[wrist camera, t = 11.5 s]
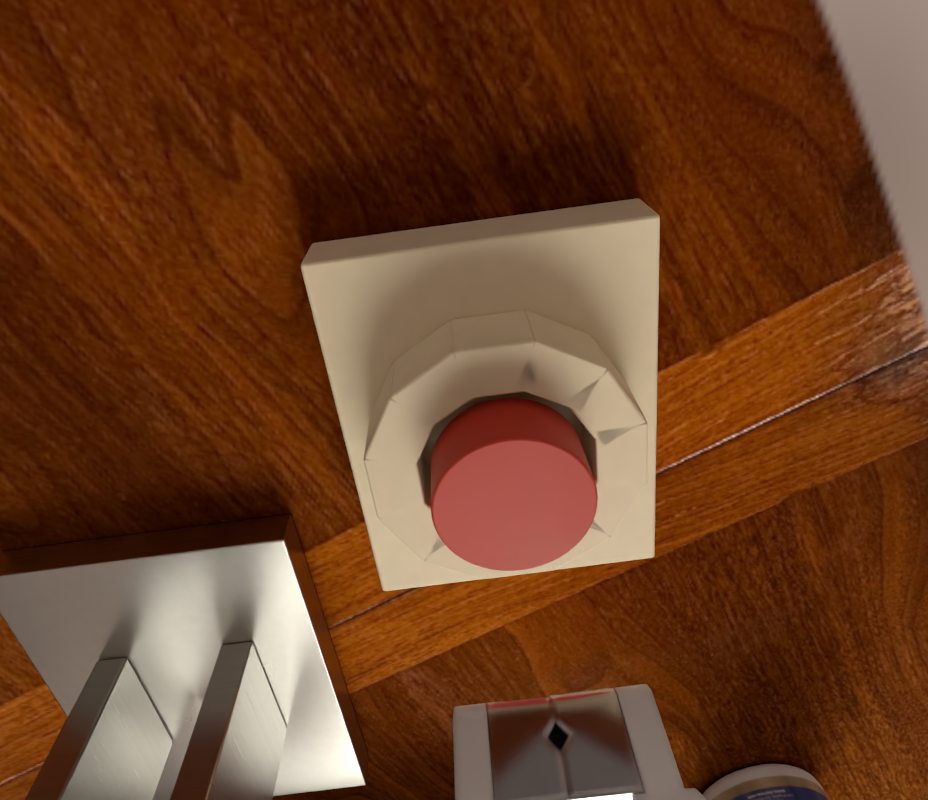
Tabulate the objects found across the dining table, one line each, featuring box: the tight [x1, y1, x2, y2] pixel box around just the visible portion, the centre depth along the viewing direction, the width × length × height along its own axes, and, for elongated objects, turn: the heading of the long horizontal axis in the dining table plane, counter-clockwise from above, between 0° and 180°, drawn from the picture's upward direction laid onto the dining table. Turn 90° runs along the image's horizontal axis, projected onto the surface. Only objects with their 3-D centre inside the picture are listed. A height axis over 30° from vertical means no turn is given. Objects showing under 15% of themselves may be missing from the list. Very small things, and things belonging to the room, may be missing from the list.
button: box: [431, 398, 598, 571], centre depth 15 cm, size 4×4×2 cm
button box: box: [301, 198, 660, 591], centre depth 17 cm, size 10×8×4 cm
